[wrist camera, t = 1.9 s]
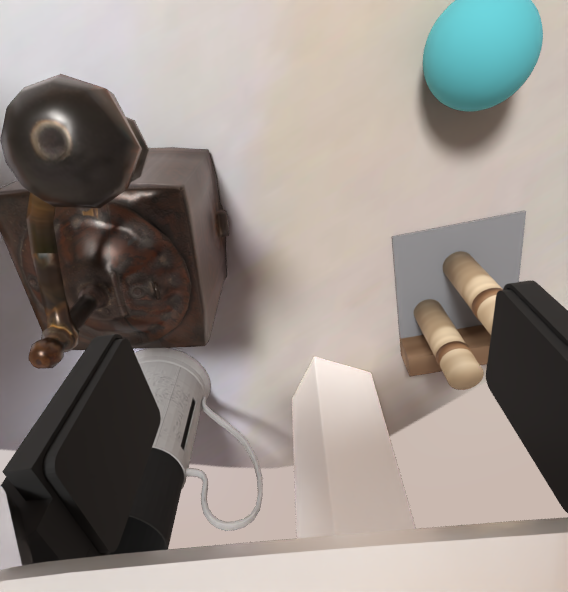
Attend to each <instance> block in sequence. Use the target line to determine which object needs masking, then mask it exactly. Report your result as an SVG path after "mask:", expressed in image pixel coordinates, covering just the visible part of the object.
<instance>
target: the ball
mask: <svg viewBox="0 0 568 592" xmlns="http://www.w3.org/2000/svg"><path fill="white" fill-rule="evenodd" d="M542 40H543V30H542V23H541V18H540V15H539V13H538V10H537V8H536V7H535V5H534V4H533V2H532V1H531V0H455V1H454V2H453V3H452V4H450V5H449V6H448V7H447V9H446V10H445V11H444V12H443V13H442V14H441V15H440V17H439V18H438V19H437V21H436V22H435V24H434V25H433V27H432V29H431V31H430V33H429V36H428V38H427V41H426V45H425V48H424V55H423V71H424V76H425V80H426V83H427V85H428V87H429V89H430V91H431V92H432V94H433V95H434V96H435V97H436V98H437V99H438V100H439V101H440V102H441V103H443V104H444V105H446V106H448V107H450V108H452V109H455V110H460V111H479V110H484V109H487V108H490V107H493V106H495V105H497V104H499V103H501V102H503V101H504V100H506V99H507V98H509V97H510V96H512V95H513V94H514V93H515V92H516V91H517V90H518V89H519V88H520V87H521V86H522V85H523V84H524V82H525V81H526V80H527V78H528V77H529V76H530V74H531V72H532V71H533V69H534V67H535V65H536V63H537V60H538V58H539V55H540V51H541V47H542Z"/></svg>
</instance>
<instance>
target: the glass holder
mask: <svg viewBox="0 0 568 592" xmlns="http://www.w3.org/2000/svg"><path fill="white" fill-rule="evenodd" d="M135 355H136V358H137V360H138V362H139V364H140V367H141V369H142V371H143V374H144V376H145V378H146V381H147V383H148V385H149V387H150V390H151V392H152V394H153V397H154V399H155V401H156V403H157V406H158V408H159V411H160V415H161V421H160V426H159V429H158V432H157V435H156V438H155V440H154V443H153V446H152V449H151V452H150V455H149V458H148V461H147V464H146V467H145V470H144V473H143V476H142V479H141V482H140V484H139V487H138V490H137V493H136V496H135V499H134V502H133V505H132V508H131V511H130V514H129V517H128V520H127V523H126V526H125V528H124V531H123V534H122V537H121V540H120V543H119V545H118V548H117V549H116V550H115V551H114V552H111V553H110V555H114V554H124V553H135V552H147V551H158V550H168V546H169V542H170V537H171V532H172V528H173V524H174V520H175V515H176V511H177V506H178V502H179V497H180V493H181V489H182V488H183V487H184V484H185V481H186V477H187V476H193V477H198V478H201V479H202V480H203V486H202V494H201V504H202V509H203V513H204V515H205V517H206V518H207V520H208V521H209V522H210V523H211V524H212V525H213V526H215V527H216V528H218V529H222V530H225V531H226V530H227V531H228V530H237V529H240V528H243V527H245V526H247V525H248V524H249V523H251V522H252V521H253V520H254V519H255V517H256V515H257V514H258V512H259V511H260V506H261V501H262V474H261V470H260V466H259V462H258V459H257V457H256V455H255V453H254V450H253V449H252V447H251V445H250V444H249V442H248V440H247V439H246V438H245V437H244V436H243V435H242V434H241V433H240V432H239V431H237V430H236V429H235V428H234V427H233V426H232V425H230V424H229V423H228V422H227V421H225V420H224V419H223V418H221V417H220V416H219V415H217V414H216V413H215V412H213V411H212V410H211V409H210V408H209V407H208V406H207V405H206V400H207V398H208V396H209V393H210V387H211V384H210V379H209V376H208V373H207V372H206V370H205V369H204V367H203V366H202V365H201V364H200V363H199V362H198V361H197V360H195V359H194V358H193V357H191V356H189V355H187V354H185V353H183V352H180V351H178V350H174V349H170V348H148V349H144V350H141V351H138V352H136V353H135ZM201 408H202V409H203V411H204V412H205V413H206V414H207V415H208V416H209V417H210V418H211V419H213V420H214V421H215V422H217V423H218V424H219V425H220V426H222V427H223V428H225V429H226V430H227V431H228V432H229V433H231V434H232V435H233V436H234V437H235V438H236V439H237V440H238V441H239V442H240V443H241V444H242V445H243V446H244V448H245V449H246V451H247V453H248V454H249V456H250V458H251V461H252V463H253V465H254V468H255V472H256V476H257V485H258V497H257V502H256V506H255V508H254V510H253V511H252V513H251V514H250V515H249V516H247V517H245V518H244V519H241V520H238V521H235V522H225V521H222V520H219V519H218V518H216V517H215V516H214V515H213V514H212V513H211V511H210V510H209V508H208V504H207V490H208V479H207V476H206V474H205V473H204V472H203V471H202V470H199V469H194V468H189V463H190V459H191V454H192V449H193V445H194V440H195V436H196V431H197V427H198V422H199V418H200V413H201Z"/></svg>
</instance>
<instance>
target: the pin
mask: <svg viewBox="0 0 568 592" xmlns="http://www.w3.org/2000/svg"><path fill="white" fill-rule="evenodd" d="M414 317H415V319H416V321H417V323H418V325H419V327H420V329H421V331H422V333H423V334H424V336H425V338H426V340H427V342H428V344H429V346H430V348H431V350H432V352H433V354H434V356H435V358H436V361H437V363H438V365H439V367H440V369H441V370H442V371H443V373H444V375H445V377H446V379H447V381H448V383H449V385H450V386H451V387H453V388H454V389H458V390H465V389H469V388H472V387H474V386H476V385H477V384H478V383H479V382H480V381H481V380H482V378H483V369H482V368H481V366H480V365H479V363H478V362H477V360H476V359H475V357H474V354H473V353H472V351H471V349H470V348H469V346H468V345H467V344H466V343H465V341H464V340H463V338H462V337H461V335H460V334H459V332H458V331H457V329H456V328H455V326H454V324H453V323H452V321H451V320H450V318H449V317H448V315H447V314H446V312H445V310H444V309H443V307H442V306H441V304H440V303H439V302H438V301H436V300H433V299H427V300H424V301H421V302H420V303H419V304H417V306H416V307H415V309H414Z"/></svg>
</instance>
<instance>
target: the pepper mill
mask: <svg viewBox="0 0 568 592" xmlns="http://www.w3.org/2000/svg"><path fill="white" fill-rule="evenodd" d="M0 141H1V145H2V149H3V153H4V157H5V161H6V163H7V165H8V166H9V168H10V169H11V171H12V172H13V173H14V175H15V176H16V178H17V179H18V181H16V182H13V183H11V184H9V185H7V186H5V187H2V188H0V232H1V234H2V236H3V239H4V241H5V243H6V246H7V248H8V251H9V253H10V255H11V258H12V260H13V262H14V265H15V267H16V270H17V272H18V274H19V277H20V279H21V281H22V284H23V286H24V288H25V291H26V293H27V295H28V298H29V300H30V303H31V305H32V308H33V310H34V312H35V315H36V317H37V320H38V322H39V325H40V327H41V329H42V337H41V340H39V341H37V342H35V343H34V344H33V345H32V346H31V350H30V353H29V361H30V362H31V364H32V365H33V366H34V367H36V368H53V367H54V366H56V365H57V364H58V363H59V362H60V361H61V360H62V358H63V357H64V352H68V351H70V350H86V348H87V347H88V346H89V344H90V343H91V341H92V340H93V339H94V338H95V337H97V336H104V335H112V334H119V335H120V336H122V338H123V339H124V338H126V339H128V340H129V342H130V344H131V346H132V348H171V347H195V346H205V345H206V344H207V342H208V341H209V338H210V335H211V331H212V327H213V323H214V319H215V315H216V310H217V306H218V302H219V298H220V294H221V290H222V286H223V282H224V280H225V278H226V277H227V264H226V236H229V223H228V218H227V213H226V211H225V210H223V208H222V206H221V204H220V198H219V191H218V185H217V177H216V174H215V170H214V167H213V163H212V160H211V157H210V153H209V150H207V149H188V148H175V147H169V148H148V147H147V145H146V143H145V141H144V139H143V136H142V134H141V132H140V130H139V128H138V126H137V124H136V122H135V120H132V119H130V118H127V117H125V115H124V113H123V111H122V109H121V107H120V105H119V103H118V102H117V100H116V98H115V96H114V94H112V93H111V92H110V91H108V90H107V89H105V88H102V87H99V86H96V85H93V84H90V83H87V82H84V81H81V80H78V79H75V78H72V77H69V76H66V75H62V74H60V75H57V76H54V77H51V78H49V79H46V80H43V81H41V82H38V83H35V84H32V85H30V86H27V87H24V88H23V89H22V90H21V91H20V93H19V94H18V95H17V96H16V97H15V98H14V99H13V100H12V102H11V103H10V104H9V105H8V107H7V109H6V114H5V119H4V124H3V129H2V135H1V140H0Z"/></svg>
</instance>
